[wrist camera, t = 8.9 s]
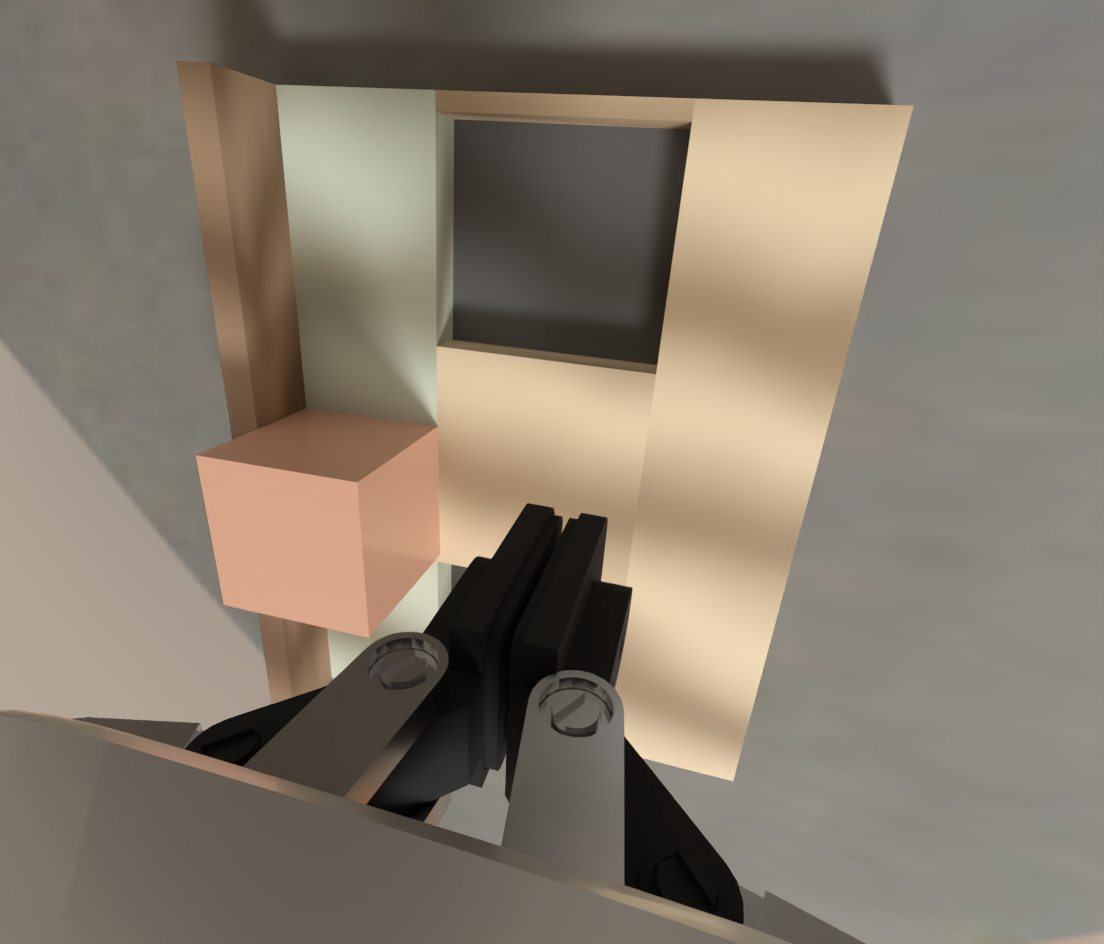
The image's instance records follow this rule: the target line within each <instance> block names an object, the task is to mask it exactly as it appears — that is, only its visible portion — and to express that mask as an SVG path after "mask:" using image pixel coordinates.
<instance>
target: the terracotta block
mask: <svg viewBox="0 0 1104 944" xmlns="http://www.w3.org/2000/svg"><path fill="white" fill-rule="evenodd" d="M196 459H197V464H198V469H199V474H200V480H201V485H202V490H203V496H204V501H205V506H206V512H207V517H208V522H209V528H210V533H211V538H212V544H213V549H214V554H215V559H216V565H217V570H218V575H219V581H220V586H221V591H222V597H223V602H224V605H227V606H231V607H235V608H240V609H244V610H249V611H253V612H257V613H262V614H266V615H271V616H275V617H279V618H284V619H288V620H293V621H297V622H301V623H306V624H310V625H315V626H319V627H323V628H328V629H332V630H337V631H341V632H345V633H350V634H354V635H359V636H363V637H367V638H370V636H371V635H372V634H373V633H374V632H375V631H376V629H377V628H378V627H379V626H380V625H381V623H382V622H383V621H384V620H385V619H386V618H387V616H388V615H389V614H390V613H391V612H392V611H393V609H394V608H395V607H396V606H397V605H398V604H399V602H400V601H401V600H402V599H403V598H404V597H405V595H406V594H407V593H408V592H409V591H410V590H411V588H412V587H413V586H414V585H415V584H416V583H417V581H418V580H419V579H420V578H421V577H422V575H423V574H424V573H425V572H426V571H427V570H428V568H429V567H430V566H431V565H432V564H433V563H434V561H435V560H436V559H437V558H438V557H439V556H440V518H439V461H438V426H432V425H425V424H418V423H411V422H404V421H397V420H389V419H382V418H375V417H368V416H361V415H354V414H347V413H340V412H333V411H326V410H319V409H312V408H305V409H303V410H301V411H298V412H296V413H294V414H291V415H289V416H287V417H284V418H282V419H280V420H277V421H275V422H273V423H270V424H268V425H266V426H263V427H261V428H259V429H256V430H254V431H252V432H249V433H247V434H245V435H242V436H240V437H238V438H235V439H233V440H231V441H228V442H226V443H224V444H221V445H219V446H217V447H214V448H212V449H210V450H207V451H205V452H202V453H200V454H198V455H196Z"/></svg>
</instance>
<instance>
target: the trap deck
mask: <svg viewBox="0 0 1104 944" xmlns="http://www.w3.org/2000/svg"><path fill="white" fill-rule="evenodd" d="M176 62H177V69H178V76H179V83H180V89H181V96H182V103H183V110H184V116H185V123H186V130H187V136H188V143H189V150H190V157H191V163H192V170H193V177H194V184H195V190H196V197H197V204H198V211H199V217H200V224H201V231H202V238H203V244H204V251H205V258H206V265H207V271H208V278H209V285H210V291H211V298H212V305H213V312H214V318H215V325H216V332H217V339H218V345H219V352H220V359H221V366H222V372H223V379H224V386H225V393H226V399H227V406H228V413H229V419H230V426H231V433H232V440H233V439H235V438H238V437H240V436H242V435H245V434H247V433H249V432H252V431H254V430H256V429H259V428H261V427H263V426H266V425H268V424H270V423H273V422H275V421H277V420H280V419H282V418H284V417H287V416H289V415H291V414H294V413H296V412H298V411H301V410H303V409H305V408H312V409H319V410H326V411H333V412H340V413H347V414H354V415H361V416H368V417H375V418H382V419H389V420H397V421H404V422H411V423H418V424H425V425H432V426H438V461H439V518H440V556H439V557H438V558H437V559H436V560H435V561H434V563H433V564H432V565H431V566H430V567H429V568H428V570H427V571H426V572H425V573H424V574H423V575H422V577H421V578H420V579H419V580H418V581H417V583H416V584H415V585H414V586H413V587H412V588H411V590H410V591H409V592H408V593H407V594H406V595H405V597H404V598H403V599H402V600H401V601H400V602H399V604H398V605H397V606H396V607H395V608H394V609H393V611H392V612H391V613H390V614H389V615H388V616H387V618H386V619H385V620H384V621H383V622H382V623H381V625H380V626H379V627H378V628H377V629H376V631H375V632H374V633H373V634H372V635H371V636H370V638H367V637H363V636H359V635H354V634H350V633H345V632H341V631H337V630H332V629H328V628H323V627H319V626H315V625H310V624H306V623H301V622H297V621H293V620H288V619H284V618H279V617H275V616H271V615H266V614H262V613H258V615H259V622H260V628H261V635H262V642H263V649H264V655H265V662H266V668H267V675H268V682H269V689H270V696H271V702H272V704H274V703H277V702H280V701H283V700H286V699H289V698H292V697H295V696H298V695H301V694H304V693H307V692H310V691H313V690H316V689H319V688H322V687H324V686H325V685H326V684H327V683H328V681H329V680H330V679H331V678H336V677H337V676H338V675H339V674H340V673H341V672H342V671H343V670H344V669H345V668H346V667H347V666H348V665H349V664H350V663H351V662H352V661H353V660H354V659H355V658H356V657H357V656H358V655H360V654H361V653H362V652H363V651H364V650H365V649H366V648H367V647H368V646H370V645H371V644H372V643H374V642H375V641H376V640H378V639H381V638H383V637H385V636H388V635H390V634H395V633H400V632H419V633H423V632H424V630H425V629H426V627H427V626H428V625H429V623H430V622H431V620H432V619H433V617H434V616H435V614H436V613H437V611H438V610H439V608H440V607H441V606H442V604H443V603H444V601H445V600H446V598H447V597H448V595H449V594H450V592H451V591H452V590H453V588H454V587H455V585H456V584H457V582H458V581H459V579H460V578H461V576H462V575H463V573H464V572H465V571H466V569H467V568H468V566H469V565H470V563H471V562H472V561H473V559H474V558H475V557H478V556H480V557H485V558H490V559H492V557H493V555H494V554H495V552H496V551H497V549H498V548H499V546H500V544H501V543H502V541H503V540H504V538H505V537H506V535H507V533H508V532H509V530H510V529H511V527H512V526H513V524H514V522H515V521H516V519H517V518H518V516H519V515H520V513H521V512H522V510H523V508H524V507H525V505H526V504H527V503H531V504H536V505H542V506H547V507H553V508H554V511H555V515H558V516H562V517H563V527H562V532H563V530H564V528H565V526H566V524H567V521H568V519H569V518H575V519H578V517H579V515H580V513H586V514H592V515H597V516H603V517H607V518H608V524H607V534H606V542H605V551H604V560H603V569H602V577H601V581H603V582H608V583H613V584H618V585H623V586H628V587H632V589H633V590H632V598H631V605H630V612H629V619H628V625H627V631H626V637H625V643H624V648H623V653H622V658H621V663H620V667H619V672H618V677H617V681H616V686H615V689H616V691H617V693H618V694H619V696H620V698H621V699H622V703H623V708H624V736H625V737H626V739H627V740H628V741H629V742H630V744H631V745H632V746H633V747H634V749H635V750H636V751H637V752H638V754H639V755H640V756H641V758H645V759H649V760H653V761H656V762H660V763H664V764H668V765H672V766H676V767H680V768H684V769H687V770H691V771H695V772H699V773H703V774H707V775H711V776H715V777H718V778H722V779H726V780H730V781H733V779H734V776H735V772H736V768H737V765H738V761H739V757H740V753H741V750H742V746H743V742H744V738H745V735H746V731H747V727H748V723H749V720H750V716H751V712H752V708H753V705H754V701H755V697H756V693H757V690H758V686H759V682H760V679H761V675H762V671H763V667H764V664H765V660H766V656H767V652H768V649H769V645H770V641H771V637H772V634H773V630H774V626H775V622H776V619H777V615H778V611H779V607H780V604H781V600H782V596H783V593H784V589H785V585H786V581H787V578H788V574H789V570H790V566H791V563H792V559H793V555H794V551H795V548H796V544H797V540H798V536H799V533H800V529H801V525H802V521H803V518H804V514H805V510H806V506H807V503H808V499H809V495H810V492H811V488H812V484H813V480H814V477H815V473H816V469H817V465H818V462H819V458H820V454H821V450H822V447H823V443H824V439H825V435H826V432H827V428H828V424H829V420H830V417H831V413H832V409H833V406H834V402H835V398H836V394H837V391H838V387H839V383H840V379H841V376H842V372H843V368H844V364H845V361H846V357H847V353H848V349H849V346H850V342H851V338H852V334H853V331H854V327H855V323H856V320H857V316H858V312H859V308H860V305H861V301H862V297H863V293H864V290H865V286H866V282H867V278H868V275H869V271H870V267H871V263H872V260H873V256H874V252H875V248H876V245H877V241H878V237H879V234H880V230H881V226H882V222H883V219H884V215H885V211H886V207H887V204H888V200H889V196H890V192H891V189H892V185H893V181H894V177H895V174H896V170H897V166H898V162H899V159H900V155H901V151H902V148H903V144H904V140H905V136H906V133H907V129H908V125H909V121H910V118H911V114H912V110H913V106H906V105H876V104H846V103H816V102H785V101H755V100H725V99H694V98H664V97H634V96H604V95H573V94H543V93H513V92H482V91H452V90H422V89H392V88H361V87H331V86H301V85H275V84H272V83H269V82H266V81H263V80H261V79H258V78H255V77H252V76H249V75H246V74H243V73H240V72H237V71H234V70H231V69H228V68H225V67H222V66H219V65H216V64H214V63H211V62H183V61H176Z"/></svg>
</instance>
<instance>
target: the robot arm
mask: <svg viewBox="0 0 1104 944" xmlns="http://www.w3.org/2000/svg"><path fill="white" fill-rule="evenodd" d="M607 524H608V518H607V517H603V516H597V515H592V514H586V513H580V515H579V517H578V519H575V518H569V519H568V521H567V524H566V526H565V528H564V530H563V532H562V527H563V517H562V516H558V515H555V511H554V508H553V507H547V506H542V505H536V504H531V503H527V504H526V505H525V507H524V508H523V510H522V512H521V513H520V515H519V516H518V518H517V519H516V521H515V522H514V524H513V526H512V527H511V529H510V530H509V532H508V533H507V535H506V537H505V538H504V540H503V541H502V543H501V544H500V546H499V548H498V549H497V551H496V552H495V554H494V555H493V557H492V559H490V558H485V557H480V556H478V557H475V558H474V559H473V561H472V562H471V563H470V565H469V566H468V568H467V569H466V571H465V572H464V573H463V575H462V576H461V578H460V579H459V581H458V582H457V584H456V585H455V587H454V588H453V590H452V591H451V592H450V594H449V595H448V597H447V598H446V600H445V601H444V603H443V604H442V606H441V607H440V608H439V610H438V611H437V613H436V614H435V616H434V617H433V619H432V620H431V622H430V623H429V625H428V626H427V627H426V629H425V630H424V632H423V633H419V632H400V633H395V634H390V635H388V636H385V637H383V638H381V639H378V640H376V641H375V642H374V643H372V644H371V645H370V646H368V647H367V648H366V649H365V650H364V651H363V652H362V653H361V654H360V655H358V656H357V657H356V658H355V659H354V660H353V661H352V662H351V663H350V664H349V665H348V666H347V667H346V668H345V669H344V670H343V671H342V672H341V673H340V674H339V675H338V676H337V677H336V678H335V679H334V680H332V681H331V682H330V683H329V684H328V685H327V686H325V687H322V688H319V689H316V690H313V691H310V692H307V693H304V694H301V695H298V696H295V697H292V698H289V699H286V700H283V701H280V702H277V703H274V704H271V705H268V706H265V707H262V708H259V709H256V710H253V711H250V712H247V713H245V714H241V715H238V716H235V717H232V718H229V719H226V720H224V721H222V722H220V723H217V724H215V725H213V726H211V727H210V728H208V729H207V730H205V731H202V727H201V724H200V723H187V722H169V721H148V720H131V719H112V718H93V717H86V718H75V719H70V718H65V717H60V716H56V715H48V714H41V713H34V712H27V711H20V710H0V944H865V943H863V942H861V941H859V940H857V939H856V938H854V937H852V936H850V935H848V934H846V933H844V932H842V931H841V930H839V929H837V928H835V927H833V926H831V925H829V924H827V923H826V922H824V921H822V920H820V919H818V918H816V917H814V916H813V915H811V914H809V913H807V912H805V911H803V910H801V909H799V908H798V907H796V906H794V905H792V904H790V903H788V902H786V901H784V900H783V899H781V898H779V897H777V896H775V895H773V894H771V893H770V892H768V891H765V894H764V897H763V898H762V897H760V896H758V895H756V894H754V893H753V892H751V891H749V890H747V889H745V888H743V887H741V886H740V885H738V883H737V881H736V879H735V877H734V876H733V874H732V872H731V871H730V869H729V868H728V866H727V864H726V863H725V862H724V860H723V859H722V858H721V857H720V855H719V854H718V853H717V852H716V850H715V849H714V848H713V847H712V845H711V844H710V843H709V842H708V840H707V839H706V838H705V837H704V835H703V834H702V833H701V832H700V830H699V829H698V828H697V827H696V825H695V824H694V823H693V822H692V820H691V819H690V818H689V817H688V815H687V814H686V813H685V811H684V810H683V809H682V808H681V806H680V805H679V804H678V803H677V801H676V800H675V799H674V798H673V796H672V795H671V794H670V793H669V791H668V790H667V789H666V788H665V786H664V785H663V784H662V783H661V781H660V780H659V779H658V778H657V776H656V775H655V774H654V773H653V771H652V770H651V769H650V768H649V766H648V765H647V764H646V763H645V761H644V760H643V759H642V758H641V756H640V755H639V754H638V752H637V751H636V750H635V749H634V747H633V746H632V745H631V744H630V742H629V741H628V740H627V739H626V737H625V736H624V708H623V703H622V699H621V698H620V696H619V694H618V693H617V691H616V689H615V686H616V681H617V677H618V672H619V667H620V663H621V658H622V653H623V648H624V643H625V637H626V631H627V625H628V619H629V612H630V605H631V598H632V590H633V589H632V587H628V586H623V585H618V584H613V583H608V582H603V581H601V577H602V569H603V560H604V551H605V542H606V534H607ZM506 753H507V755H506ZM505 755H506V784H505V796H506V798H507V799H508V801H509V807H508V813H507V818H506V823H505V829H504V834H503V840H502V845H501V846H498V845H495V844H492V843H488V842H485V841H482V840H479V839H476V838H472V837H469V836H466V835H463V834H460V833H456V832H453V831H450V830H447V829H443V828H440V827H437V825H438V824H439V822H440V820H441V819H442V817H443V816H444V814H445V812H446V811H447V808H448V806H449V804H450V801H451V795H452V792H453V791H456V790H458V789H460V788H462V787H464V786H466V785H469V784H471V785H474V786H478V787H481V788H482V786H483V783H484V781H485V779H486V776H487V774H488V771H489V769H493V770H496V771H498V770H499V769H500V768H501V765H502V763H503V761H504V758H505Z"/></svg>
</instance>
